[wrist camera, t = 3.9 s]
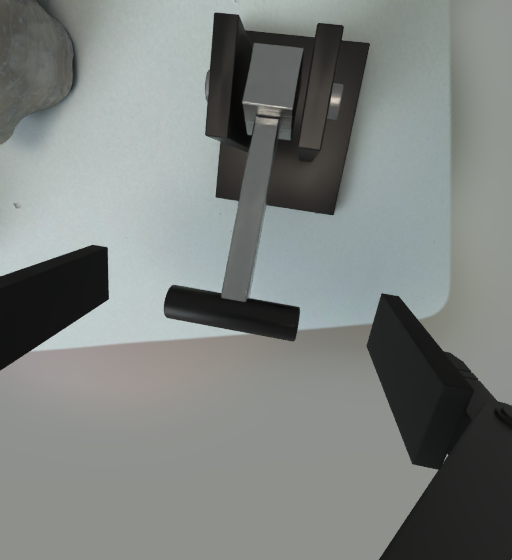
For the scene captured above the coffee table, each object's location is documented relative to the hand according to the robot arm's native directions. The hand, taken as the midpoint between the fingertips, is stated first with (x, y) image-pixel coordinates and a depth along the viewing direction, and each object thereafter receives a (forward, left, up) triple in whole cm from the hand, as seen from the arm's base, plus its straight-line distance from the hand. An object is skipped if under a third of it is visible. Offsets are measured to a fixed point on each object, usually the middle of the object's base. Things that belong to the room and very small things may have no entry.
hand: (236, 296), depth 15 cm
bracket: (0, -9, -15) cm, 17 cm away
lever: (0, -4, -2) cm, 5 cm away
